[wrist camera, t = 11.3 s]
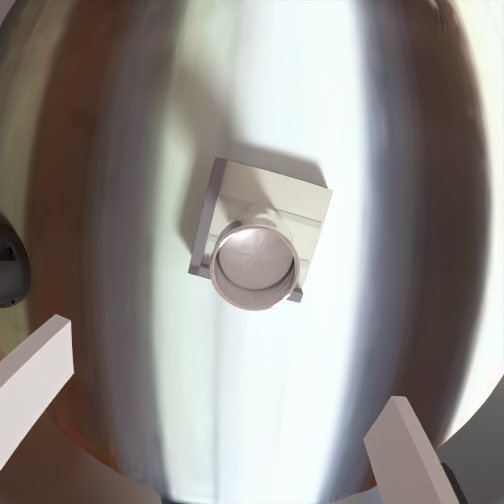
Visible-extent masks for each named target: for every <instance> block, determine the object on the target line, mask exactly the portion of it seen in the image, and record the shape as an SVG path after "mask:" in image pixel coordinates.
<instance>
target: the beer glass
mask: <svg viewBox="0 0 504 504" xmlns="http://www.w3.org/2000/svg"><path fill="white" fill-rule="evenodd" d="M299 273H300V263H299V257H298V250H297V246H296V242H295V239H294V237H293V235H292V233H291V232H290V230H289V229H288V227H287V226H286V225H285V224H284V223H283V221H282V219H281V217H280V216H279V214H278V213H277V212H276V211H275V210H274V209H272V208H270V207H268V206H266V205H261V204H255V205H250V206H248V207H246V208H244V209H242V210H241V211H240V212H239V213H238V214H237V216H236V217H235V218H234V219H233V220H231V221H230V222H229V223H228V224H227V225H226V226H225V227H224V229H223V230H222V231H221V233H220V234H219V236H218V238H217V241H216V243H215V246H214V249H213V252H212V255H211V258H210V276H211V280H212V283H213V285H214V287H215V289H216V290H217V292H218V293H219V294H220V295H221V297H222V298H224V299H225V300H226V301H227V302H229V303H230V304H232V305H234V306H236V307H238V308H241V309H245V310H251V311H259V310H265V309H269V308H272V307H274V306H276V305H278V304H280V303H281V302H283V301H284V300H285V299H286V298H287V297H288V296H289V295H290V294H291V293H292V291H293V290H294V288H295V286H296V284H297V282H298V278H299Z"/></svg>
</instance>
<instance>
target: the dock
mask: <svg viewBox="0 0 504 504" xmlns="http://www.w3.org/2000/svg"><path fill="white" fill-rule="evenodd" d="M332 193H333V190H331V189H328V188H324V187H321V186H318V185H315V184H312V183H308V182H305V181H302V180H298V179H295V178H291V177H288V176H285V175H281V174H278V173H274V172H270V171H267V170H263V169H259V168H256V167H252V166H248V165H244V164H240V163H237V162H233V161H229V160H225V159H220V158H215V162H214V166H213V169H212V173H211V177H210V181H209V185H208V189H207V193H206V197H205V201H204V205H203V209H202V213H201V218H200V222H199V226H198V230H197V235H196V239H195V244H194V248H193V253H192V257H191V262H190V266H189V271H188V273H190V274H193V275H197V276H200V277H204V278H207V279H211V276H210V258H211V255H212V252H213V249H214V246H215V243H216V241H217V238H218V236H219V234H220V233H221V231H222V230H223V229H224V227H225V226H226V225H227V224H228V223H229V222H230V221H231V220H233V219H234V218H235V217H236V216H237V214H238V213H239V212H240V211H241V210H242V209H244V208H246V207H248V206H250V205H255V204H261V205H266V206H268V207H270V208H272V209H274V210H275V211H276V212H277V213H278V214H279V216H280V217H281V219H282V221H283V223H284V224H285V225H286V226H287V227H288V229H289V230H290V232H291V233H292V235H293V237H294V239H295V242H296V246H297V250H298V257H299V263H300V273H299V278H298V282H297V284H296V286H295V288H294V290H293V291H292V293H291V294H290V295H289V296H288V297H287V298H286V299H287V300H291V301H295V302H299V303H300V301H301V298H302V295H303V292H302V287H303V284H304V281H305V278H306V275H307V272H308V269H309V266H310V263H311V260H312V257H313V254H314V251H315V248H316V245H317V242H318V239H319V236H320V232H321V229H322V226H323V223H324V220H325V216H326V213H327V210H328V207H329V203H330V200H331V197H332Z"/></svg>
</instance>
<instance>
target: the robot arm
mask: <svg viewBox="0 0 504 504" xmlns="http://www.w3.org/2000/svg"><path fill="white" fill-rule="evenodd" d="M29 287H30V267H29V262H28V258H27V255H26V252H25V250H24V247H23V245H22V243H21V241H20V240H19V238H18V237H17V235H16V234H15V233H14V232H13V231H12V230H11V229H10V228H9V227H7V226H6V225H3V224H0V308H6V307H12V306H14V305H16V304H17V303H19V302H20V301H22V300H23V299H24V298H25V297H26V295H27V293H28V291H29ZM73 373H74V370H73V357H72V340H71V320H68V319H66V318H64V317H61V316H59V315H56V314H55V315H54V316H53V317H52V318H51V319H49V320H48V321H47V322H46V323H44V324H43V325H42V326H41V327H40V328H38V329H37V330H36V331H35V332H34V333H33V334H31V335H30V336H29V337H28V338H27V339H25V340H24V341H23V342H22V343H21V344H20V345H19V346H17V347H16V348H15V349H14V350H13V351H12V352H11V353H9V354H8V355H7V356H6V357H5V358H4V359H3V360H2V361H1V362H0V470H1V469H2V467H3V466H4V464H5V463H6V462H7V460H8V459H9V457H10V456H11V454H12V453H13V452H14V450H15V449H16V448H17V446H18V445H19V443H20V442H21V440H22V439H23V438H24V437H25V435H26V434H27V433H28V431H29V430H30V428H31V427H32V426H33V424H34V423H35V422H36V420H37V419H38V418H39V416H40V415H41V414H42V413H43V411H44V410H45V409H46V407H47V406H48V405H49V404H50V402H51V401H52V400H53V398H54V397H55V396H56V395H57V393H58V392H59V391H60V390H61V388H62V387H63V386H64V385H65V383H66V382H67V381H68V380H69V378H70V377H71V376H72V375H73ZM363 440H364V443H365V446H366V450H367V453H368V456H369V459H370V462H371V466H372V469H373V472H374V475H375V479H376V482H377V485H378V489H379V492H380V496H381V499H382V502H383V504H468V502H467V500H466V498H465V496H464V494H463V492H462V490H460V489H461V488H460V486H459V484H458V483H457V480H456V477H455V475H454V474H453V471H452V470H451V469H450V468H449V467H448V466H447V465H446V464H445V463H440V461H439V460H438V457H437V455H436V453H435V451H434V449H433V447H432V445H431V443H430V441H429V440H428V438H427V436H426V434H425V432H424V430H423V428H422V426H421V424H420V422H419V420H418V419H417V417H416V415H415V413H414V411H413V409H412V407H411V405H410V404H409V402H408V400H407V398H406V397H399V396H391V398H390V399H389V401H388V403H387V404H386V406H385V407H384V409H383V411H382V412H381V414H380V415H379V417H378V418H377V420H376V421H375V423H374V424H373V426H372V427H371V429H370V430H369V432H368V433H367V435H366V436H365V437H364V439H363Z"/></svg>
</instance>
